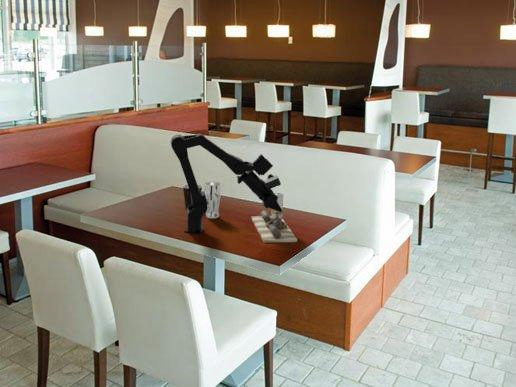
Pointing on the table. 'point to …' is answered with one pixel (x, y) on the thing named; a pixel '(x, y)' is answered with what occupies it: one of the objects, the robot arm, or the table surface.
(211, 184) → the beer glass
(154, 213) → the table surface
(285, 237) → the shaft board
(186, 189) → the coffee mug
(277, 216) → the metal cup
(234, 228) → the table surface
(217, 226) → the table surface
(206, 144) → the robot arm
